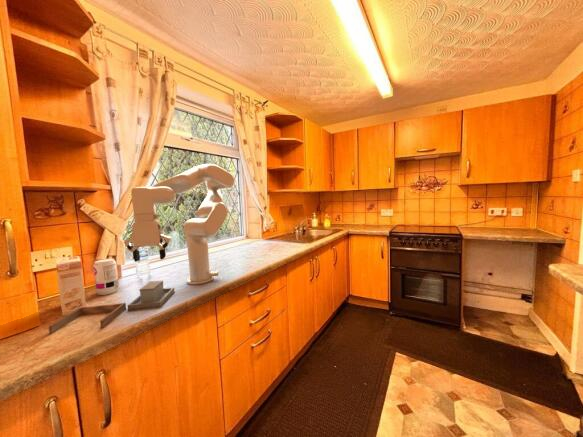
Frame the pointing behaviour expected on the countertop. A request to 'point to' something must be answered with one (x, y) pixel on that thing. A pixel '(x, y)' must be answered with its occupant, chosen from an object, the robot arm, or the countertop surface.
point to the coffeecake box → (70, 284)
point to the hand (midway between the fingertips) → (150, 259)
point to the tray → (138, 305)
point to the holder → (115, 309)
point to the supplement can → (106, 276)
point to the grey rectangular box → (152, 292)
